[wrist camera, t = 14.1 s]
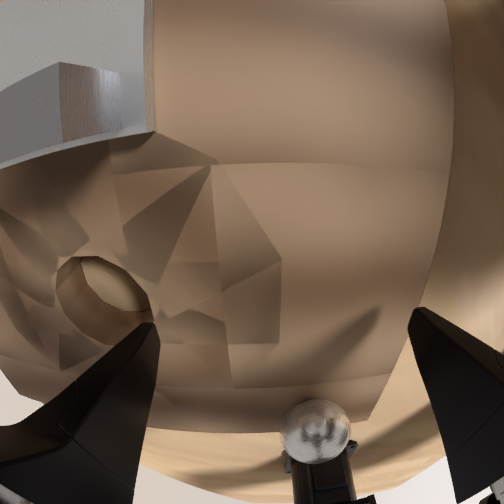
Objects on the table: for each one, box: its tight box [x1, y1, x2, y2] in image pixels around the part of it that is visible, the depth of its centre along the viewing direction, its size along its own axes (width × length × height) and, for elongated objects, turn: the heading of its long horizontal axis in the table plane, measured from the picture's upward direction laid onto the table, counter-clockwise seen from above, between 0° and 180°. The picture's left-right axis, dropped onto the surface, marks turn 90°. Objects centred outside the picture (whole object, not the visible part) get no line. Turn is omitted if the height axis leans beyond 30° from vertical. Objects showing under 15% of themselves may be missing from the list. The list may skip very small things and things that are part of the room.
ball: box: [280, 399, 351, 464], centre depth 12 cm, size 4×4×4 cm
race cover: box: [0, 0, 156, 169], centre depth 4 cm, size 7×7×4 cm
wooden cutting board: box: [0, 0, 454, 433], centre depth 10 cm, size 25×26×2 cm
